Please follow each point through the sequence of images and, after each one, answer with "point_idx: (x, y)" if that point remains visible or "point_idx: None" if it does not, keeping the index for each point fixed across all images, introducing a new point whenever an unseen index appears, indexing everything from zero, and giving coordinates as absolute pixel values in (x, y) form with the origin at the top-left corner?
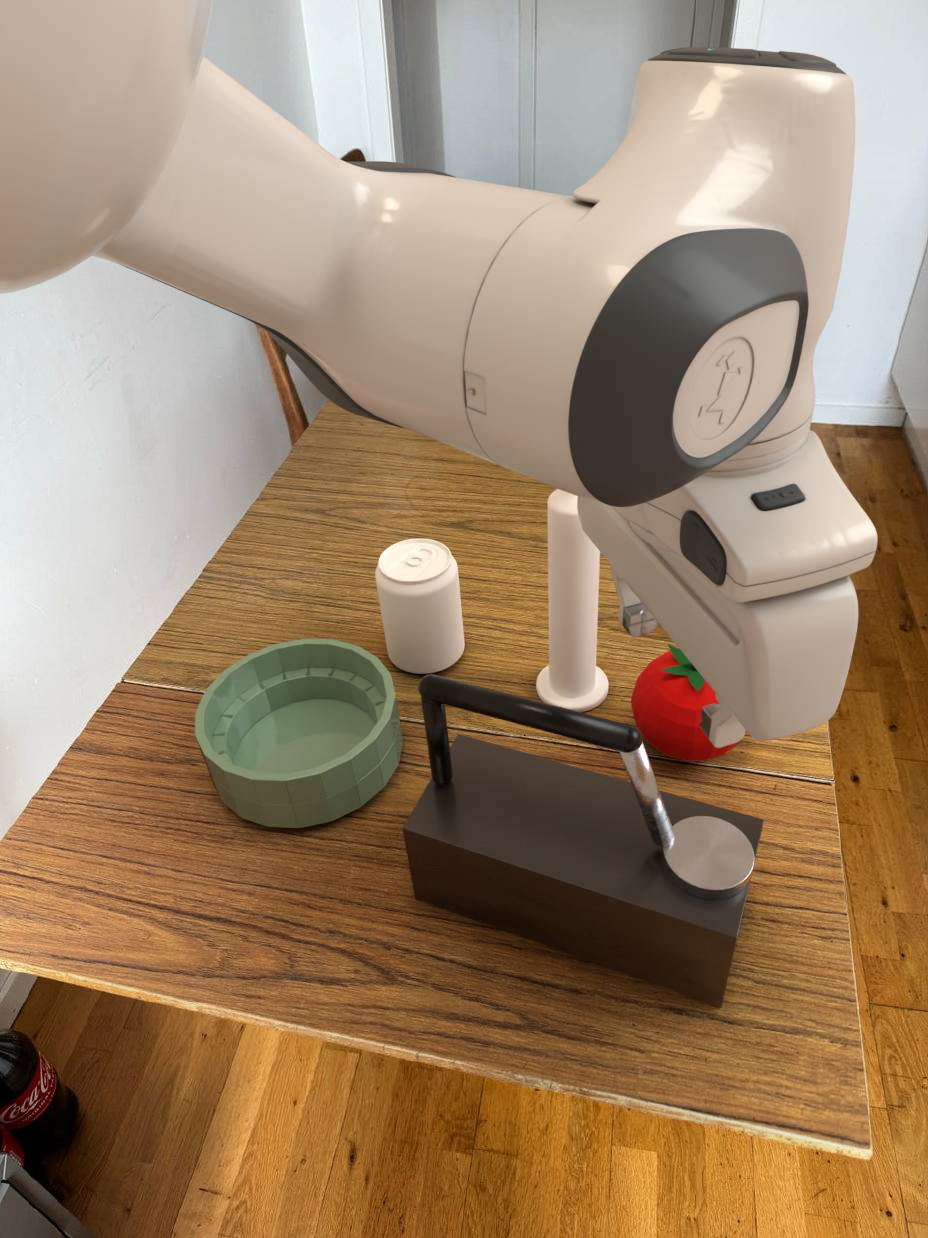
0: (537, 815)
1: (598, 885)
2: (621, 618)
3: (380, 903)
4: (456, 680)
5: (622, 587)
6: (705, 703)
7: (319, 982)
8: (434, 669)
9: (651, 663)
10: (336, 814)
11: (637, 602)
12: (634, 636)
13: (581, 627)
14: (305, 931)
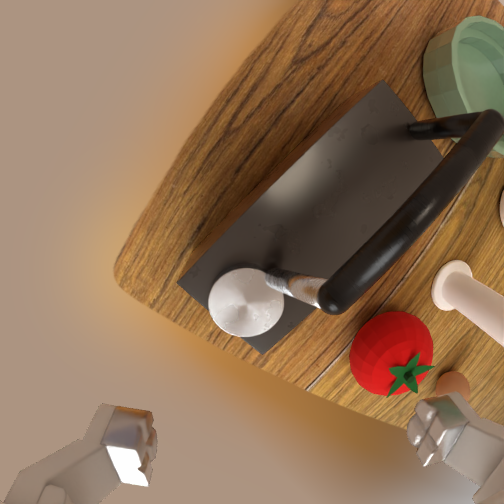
0: (350, 189)
1: (261, 204)
2: (457, 401)
3: (353, 76)
4: (491, 148)
5: (494, 442)
6: (379, 366)
7: (310, 24)
8: (502, 201)
9: (431, 346)
10: (426, 78)
11: (457, 444)
12: (418, 403)
13: (482, 313)
14: (349, 29)
